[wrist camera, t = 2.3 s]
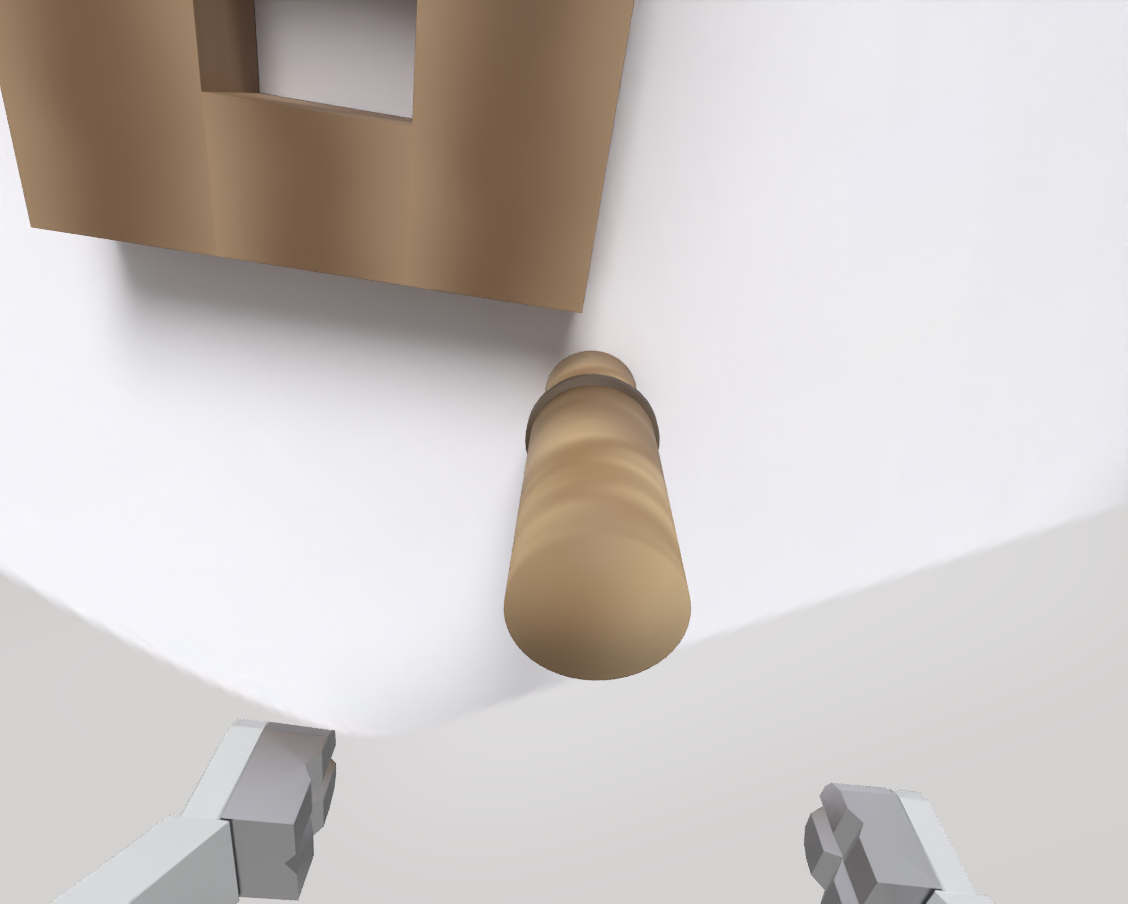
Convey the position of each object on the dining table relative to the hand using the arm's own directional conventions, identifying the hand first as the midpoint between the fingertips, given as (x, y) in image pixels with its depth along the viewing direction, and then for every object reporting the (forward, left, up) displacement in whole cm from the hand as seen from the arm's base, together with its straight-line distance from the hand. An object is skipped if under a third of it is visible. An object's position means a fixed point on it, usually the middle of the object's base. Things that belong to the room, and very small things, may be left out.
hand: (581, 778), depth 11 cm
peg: (0, 0, -16) cm, 16 cm away
